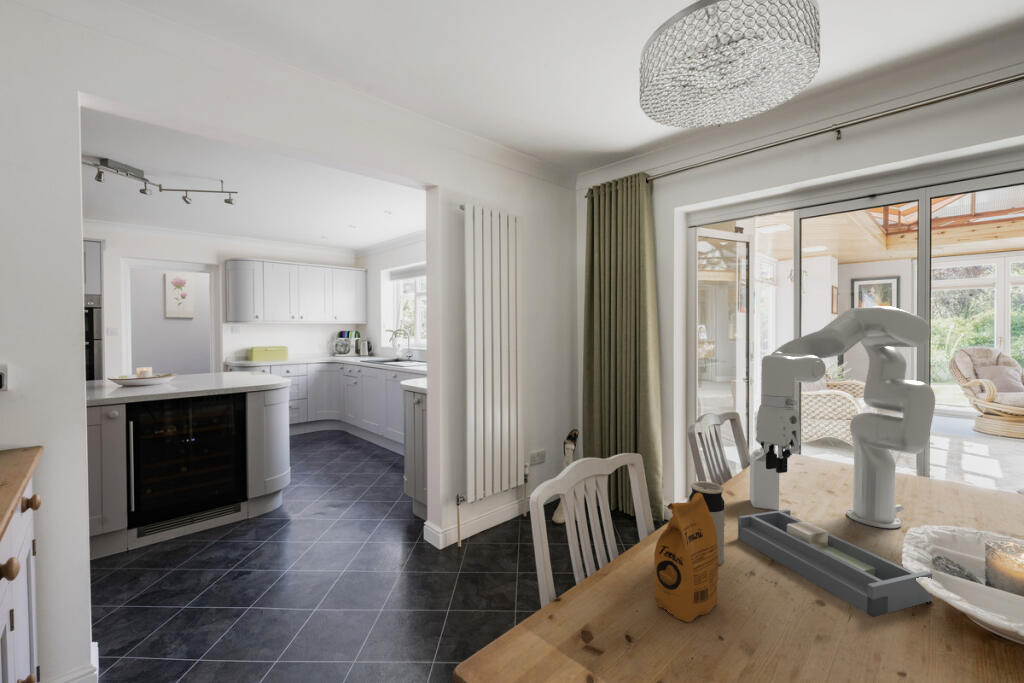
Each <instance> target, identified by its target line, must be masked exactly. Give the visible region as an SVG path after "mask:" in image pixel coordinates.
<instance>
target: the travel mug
mask: <svg viewBox="0 0 1024 683" xmlns="http://www.w3.org/2000/svg"><path fill="white" fill-rule="evenodd" d="M690 488H691V493H690V495H689V497H688V502H690V501H691V499H692V497H693V496H694V494H696V493H701V494H702V495H703V498H704V500H705V502H706V505H707V507H708V510H709V512H710V514H711V516H712V519H713V521H714V524H715V527H716V534H717V543H718V566H719V565H722V564H723V563H724V562H725V500H724V498H723V496H722V494H723V491H724V487H723V486H721V485H720V484H718V483H714V482H710V481H705V480H703V481H701V480H700V481H692V482H691V483H690Z"/></svg>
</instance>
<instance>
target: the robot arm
mask: <svg viewBox="0 0 1024 683" xmlns="http://www.w3.org/2000/svg"><path fill="white" fill-rule="evenodd" d="M931 334H932V333H931V327H930V325H929V322H927V321H926V319H924V318H923V317H921V316H919V315H917V314H914V313H911V312H908V311H906V310H903V309H900V308H897V307H892V306H886V305H885V306H882V305H881V306H861V307H858V306H857V307H852V308H849V309H847V310H845V311H844V312H843V313H841V314H840V315H838V316H837V317H835V318H834V319H833V320H832V321H830V322H829V323H828V324H826V325H825V326H824V327H823V328H821V329H819V330H817V331H814V332H811V333H809V334H805V335H803V336H800V337H798V338H795V339H792V340H789V341H788V342H785V343H784V344H782V345H780V347H778V348H776V349H775V350H774V351H773V352H772V353H771V354H769V355H768V354H767V355H764V356H763V357H762V359H761V371H760V372H761V378H760V379H761V383H760V384H761V385H760V386H761V388H760V389H761V391H760V393H761V394H760V404H759V407H758V411H757V416H756V417H757V418H756V437H755V441H756V442H757V443H758V444H759V445H760V446H761V447H762V448H763V449H764V453H765V454H766V469H776V472H777V473H779V474H783V473H785V474H786V473H788V460H789V458H791V456H792V455H793V454H797V453H800V452H801V449H800V446H801V440H802V439H801V438H802V437H801V423H800V417H799V412H798V410H797V408H795V406H797V403H798V401H797V400H795V383H798V382H799V383H805V384H809V383H810V384H811V383H816V382H818V381H820V380H822V378H824V376H825V374H826V370H827V369H826V368H827V367H826V366H827V365H826V363H825V362H824V361H823V359H828V358H833V357H837V356H842V355H844V354H846V353H847V352H848V351H850V349H852V348H853V347H855V346H856V345H857V344H858V343H859V342H860V343H861V345H862V347H863V348H864V350H865V352H866V353H867V356H868V360H869V361H868V362H869V363H868V369H867V373H866V374H867V375H866V379H865V384H864V389H863V390H864V391H863V402H864V404H865V405H867V406H868V407H870V408H873V409H876V410H881V411H885V412H886V411H887V412H893V413H901V414H902V417H900V416H892V415H888V414H884V413H883V414H882V413H875V412H861V413H858V414H856V415H855V416H853V417H852V419H851V421H850V424H849V425H850V426H849V427H850V435H851V439H852V440H851V441H852V446H853V483H852V484H853V487H852V488H853V489H852V490H853V491H852V492H853V493H852V494H853V495H852V507H850V508H847V509H846V515H847V516H848V517H849V518H850V519H851V520H853V521H855V522H858V523H861V524H863V525H867V526H871V527H876V528H882V529H897V528H900V527H902V520H901V518H899V517H897V515H896V514H897V513H900V512H903V511H904V509H905V508H904V507H903V505H901V504H895V501H896V499H895V497H896V461H895V458H894V457H893V455H892V453H891V451H893V452H894V451H895V452H900V453H904V454H909V455H917V454H921V453H922V452H924V450H925V449H926V447H927V446H928V442H929V438H930V434H931V433H930V432H931V428H932V425H933V424H932V423H933V418H934V413H935V408H936V407H935V406H936V396H935V391H934V389H933V388H932V386H930V385H929V384H928V383H925V382H923V381H919V380H911V379H905V378H906V372H907V361H906V358H905V357H904V356H903V354H902V353H901V352H900V350H899V349H898V348H916V347H917V348H919V347H922V346H923V345H925V344H926V343H927V342H928V341H929V339H930V337H931ZM776 446H777V453H776ZM890 450H891V451H890Z"/></svg>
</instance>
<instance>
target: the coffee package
mask: <svg viewBox="0 0 1024 683" xmlns="http://www.w3.org/2000/svg"><path fill="white" fill-rule="evenodd" d="M666 507H667V509H668V510H671V514H672V516H671V517H670V518H669V521H668V522H667V525H666V526H667V527H666V529H665V530H663V532H662V533H661V535H660V536H659V538H658V539H657V542H656V545H655V549H654V553H653V554H654V556H653V557H654V579H653V580H654V581H653V582H654V583H653V599H654V601H655V604H656V605H657V604H658V605H659V606H661V607H660V608H662V607H663V608H662V609H664V610H665V609H666V610H667V611H669V612H670V613H669V614H671V615H672V616H673V618H675V619H677V618H678V619H677V620H680V621H681V620H683V621H682V622H684V621H685V622H684V623H686V622H689V623H692V622H693V621H694V620H695V619H696V618H697V617H698V616H704V615H705V614H706V615H709V612H710V613H711V611H712V610H713V609H714V608H715V606H717V605H718V579H719V578H718V577H719V565H718V543H717V534H716V527H715V524H714V521H713V519H712V516H711V514H710V512H709V510H708V507H707V505H706V502H705V500H704V498H703V495H702V494H701V493H696V494H694V496H693V497H692V499H691V501H690V502H689V501H688V502H674V503H673V502H670V503H669V504H668V505H667V506H666ZM658 605H657V606H658ZM659 606H658V607H659ZM666 610H665V611H666ZM667 611H666V612H667Z"/></svg>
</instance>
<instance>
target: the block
mask: <svg viewBox="0 0 1024 683" xmlns="http://www.w3.org/2000/svg"><path fill="white" fill-rule="evenodd" d="M802 521H803V520H802ZM787 533H789V534H791V535H793V536H795V537H797V538H799V539H801V540H803V541H805V542H807V543H809V544H811V545H813V546H815V547H817V548H819V549H823V548H828V533H829V531H828V530H825V529H823V528H821V527H819V526H816V525H815V524H812V523H811V522H808V521H803V522H797V523H791V524H787Z"/></svg>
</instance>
